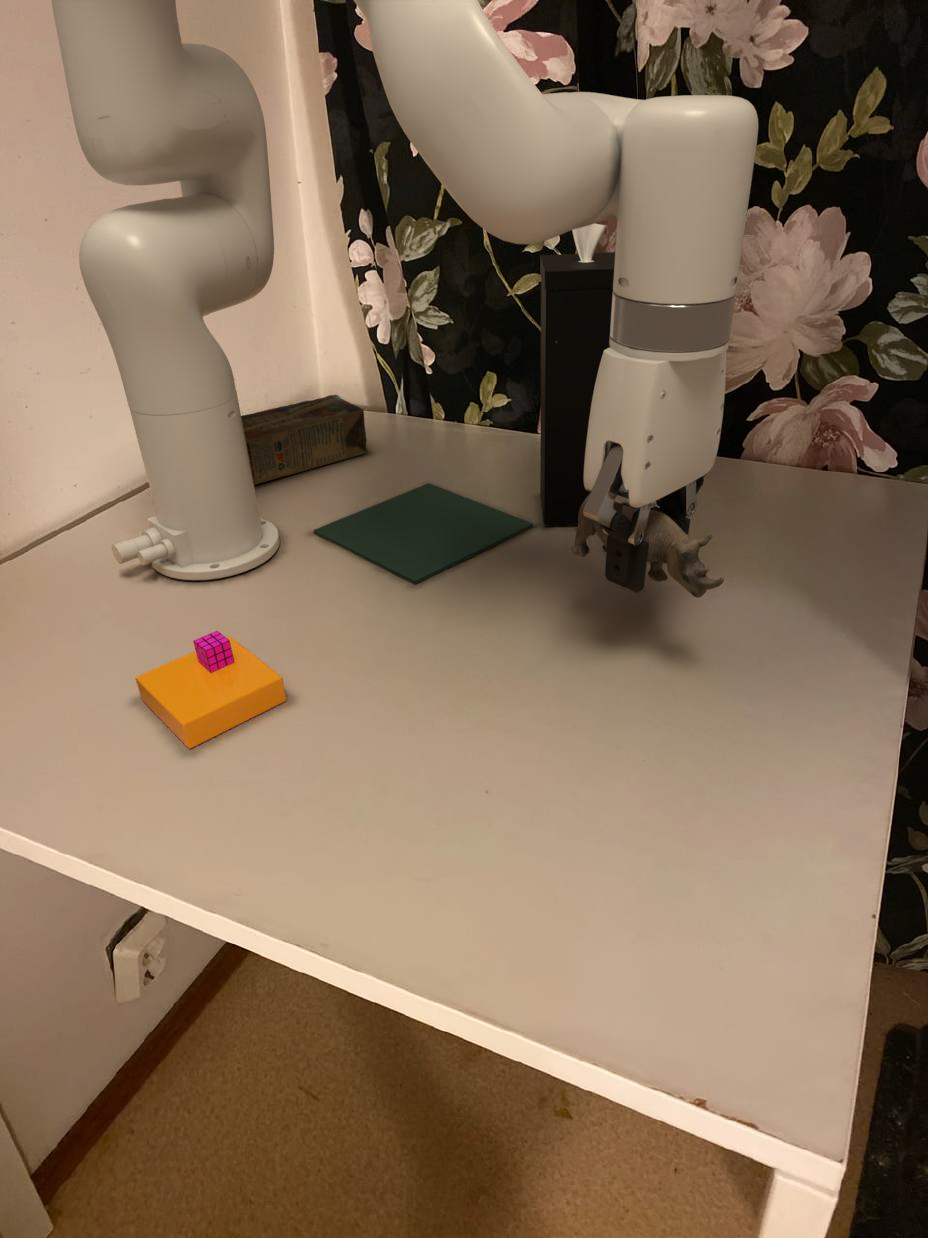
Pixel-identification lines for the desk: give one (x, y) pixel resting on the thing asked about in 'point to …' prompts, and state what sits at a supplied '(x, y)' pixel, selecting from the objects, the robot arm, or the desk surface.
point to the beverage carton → (303, 436)
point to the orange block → (210, 689)
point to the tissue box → (571, 366)
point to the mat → (422, 531)
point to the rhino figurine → (658, 550)
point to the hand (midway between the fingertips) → (644, 570)
